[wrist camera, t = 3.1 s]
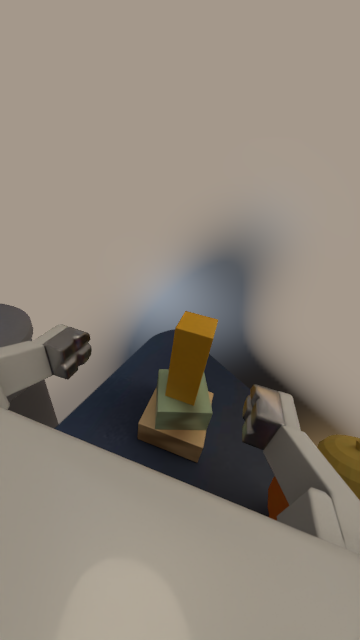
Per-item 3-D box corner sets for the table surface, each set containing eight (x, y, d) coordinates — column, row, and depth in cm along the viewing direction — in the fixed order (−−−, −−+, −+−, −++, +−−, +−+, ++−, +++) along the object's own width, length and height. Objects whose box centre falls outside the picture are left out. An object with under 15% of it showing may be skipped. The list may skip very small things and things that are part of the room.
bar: (165, 395, 27) (175, 327, 21) (174, 374, 30) (185, 310, 24) (194, 405, 26) (213, 338, 20) (200, 383, 29) (218, 319, 24)
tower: (137, 438, 29) (139, 404, 25) (160, 391, 37) (164, 358, 33) (197, 462, 28) (209, 431, 24) (208, 407, 35) (219, 376, 31)
